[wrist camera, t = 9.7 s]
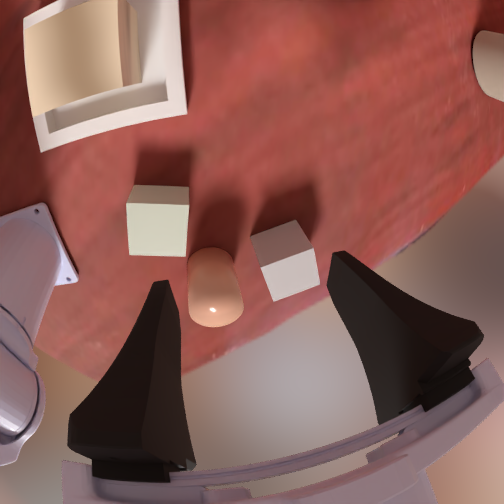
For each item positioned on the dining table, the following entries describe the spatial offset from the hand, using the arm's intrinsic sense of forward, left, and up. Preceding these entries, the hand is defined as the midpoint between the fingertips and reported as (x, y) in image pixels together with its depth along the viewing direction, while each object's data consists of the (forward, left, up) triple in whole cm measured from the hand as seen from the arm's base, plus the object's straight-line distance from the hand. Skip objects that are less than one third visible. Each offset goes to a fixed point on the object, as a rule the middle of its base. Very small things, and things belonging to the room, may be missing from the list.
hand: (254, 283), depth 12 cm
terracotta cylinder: (-2, -7, -10) cm, 12 cm away
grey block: (+4, -6, -10) cm, 12 cm away
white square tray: (-7, +11, -10) cm, 16 cm away
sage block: (-5, -1, -10) cm, 11 cm away
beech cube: (-7, +11, -9) cm, 16 cm away
